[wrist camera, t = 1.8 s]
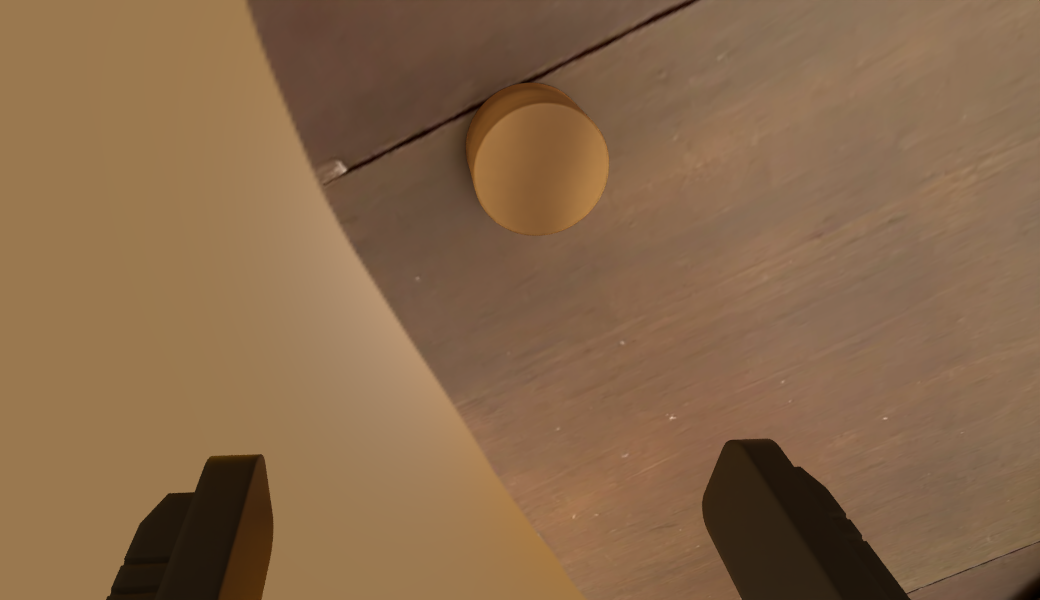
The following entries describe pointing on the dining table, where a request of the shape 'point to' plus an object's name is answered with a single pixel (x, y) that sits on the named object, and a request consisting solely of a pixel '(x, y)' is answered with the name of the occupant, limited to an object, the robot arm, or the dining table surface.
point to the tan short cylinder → (536, 159)
